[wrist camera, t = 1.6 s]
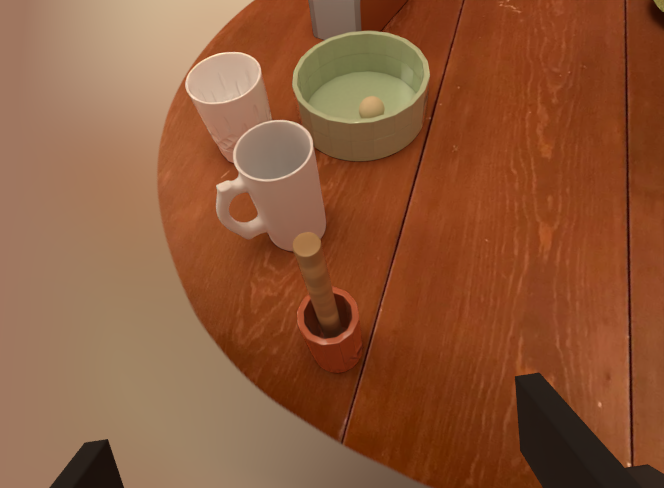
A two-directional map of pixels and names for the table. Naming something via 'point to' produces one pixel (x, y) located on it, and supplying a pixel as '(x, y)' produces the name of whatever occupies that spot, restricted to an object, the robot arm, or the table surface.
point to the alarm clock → (351, 15)
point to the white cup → (229, 97)
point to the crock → (337, 350)
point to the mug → (275, 184)
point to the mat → (660, 4)
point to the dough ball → (371, 107)
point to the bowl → (361, 94)
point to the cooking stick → (317, 282)
